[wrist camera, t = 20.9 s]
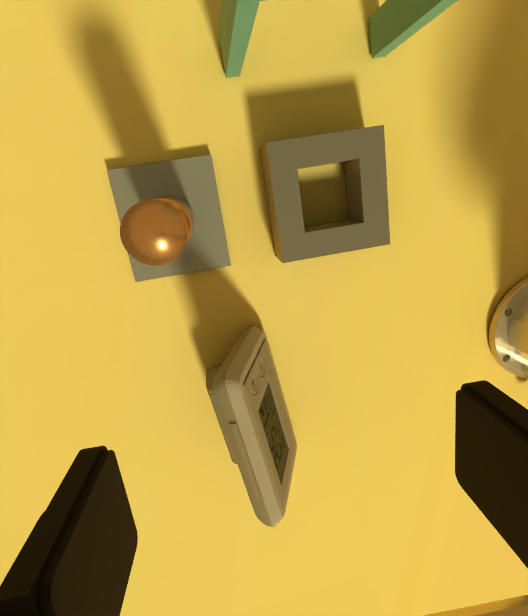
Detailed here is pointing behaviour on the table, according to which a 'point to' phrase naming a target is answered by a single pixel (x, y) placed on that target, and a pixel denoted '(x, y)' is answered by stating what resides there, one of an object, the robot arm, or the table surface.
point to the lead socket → (359, 189)
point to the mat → (189, 188)
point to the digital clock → (255, 422)
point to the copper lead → (157, 230)
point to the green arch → (383, 23)
